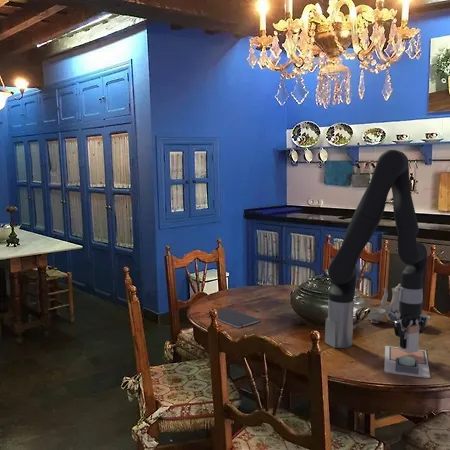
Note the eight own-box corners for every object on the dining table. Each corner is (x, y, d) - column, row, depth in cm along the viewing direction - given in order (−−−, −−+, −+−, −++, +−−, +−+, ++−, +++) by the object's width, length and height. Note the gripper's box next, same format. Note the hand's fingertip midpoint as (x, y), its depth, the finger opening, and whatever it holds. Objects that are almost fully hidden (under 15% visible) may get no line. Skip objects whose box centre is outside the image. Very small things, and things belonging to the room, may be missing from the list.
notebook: (260, 323, 216) (227, 310, 232) (260, 319, 216) (227, 307, 232) (237, 329, 208) (205, 316, 224) (237, 325, 208) (205, 313, 224)
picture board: (430, 378, 163) (430, 370, 163) (384, 372, 167) (384, 364, 167) (425, 351, 184) (426, 345, 184) (385, 347, 188) (385, 340, 188)
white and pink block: (408, 353, 176) (409, 327, 175) (399, 349, 180) (400, 323, 179) (417, 351, 178) (419, 325, 177) (408, 347, 182) (409, 321, 181)
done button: (415, 368, 165) (415, 363, 165) (398, 366, 167) (399, 361, 167) (414, 362, 170) (414, 357, 170) (398, 360, 172) (399, 355, 171)
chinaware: (361, 328, 213) (363, 291, 209) (364, 312, 229) (365, 277, 225) (433, 336, 205) (436, 297, 200) (431, 319, 220) (434, 282, 216)
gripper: (403, 305, 170) (401, 354, 173) (434, 299, 176) (431, 347, 179) (387, 299, 177) (385, 346, 179) (417, 294, 183) (415, 340, 185)
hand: (408, 346), depth 179 cm, fingers closed on white and pink block, 4 cm apart
